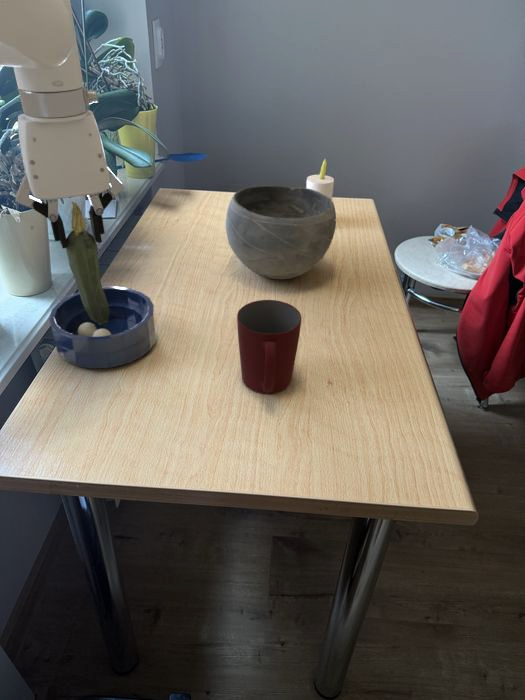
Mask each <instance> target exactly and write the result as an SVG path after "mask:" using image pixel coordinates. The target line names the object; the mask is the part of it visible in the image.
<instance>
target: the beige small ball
mask: <svg viewBox="0 0 525 700" xmlns="http://www.w3.org/2000/svg"><path fill="white" fill-rule="evenodd" d="M96 330H97V328H96V326H95V325H94V324H92V323H89V322H86V323H83V324H81V325H80V326H79V328H78V335H79V336H85V337H92V336H93V333H94V332H95V331H96Z"/></svg>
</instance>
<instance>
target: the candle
mask: <svg viewBox="0 0 525 700" xmlns="http://www.w3.org/2000/svg"><path fill="white" fill-rule="evenodd" d="M326 173H327V159H326V158H324V160H323V161H322V164H321V167H320V170H319V174H312V175H309V176H307V177H306V187H305V188H308V189H312V190H315V191H318V192H320V193H321V194H323V195H325V196H327V197H328V198H330V199H331V200H332V201H333V196H334V195H333V194H334V187H335V186H334V185H335V179H334V178H333V177H332V176H330V175H326Z"/></svg>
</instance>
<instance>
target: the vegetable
mask: <svg viewBox="0 0 525 700" xmlns="http://www.w3.org/2000/svg"><path fill="white" fill-rule="evenodd" d="M71 204H72V210H71V213H70V214H71V222H70V224H71V228H72V231H70V232H69V233H68V235H67V236H66V240H67V245H68V247H67V248H65V250H66V256H67V260H68V265H69V268H70V271H71V274H72V275H73V279H74V281H75V284H76V288H77V291H78V292H79V293H80V296H81V300H82V302H83V305H84V307H85V309H86V311H87V313H88V315H89V317H90V318H91V320H93V321H95V322H97V323H98V324H100V325H101V324H102V323H107V322H108V318H109V308H108V303H107V299H106V296H105V293H104V291H103V288H102V287H103V285H102V281H101V277H100V263H99V249H98V243H97V242H96V240H95V238H94V236H93V234H92V233H91V232H89V231H87V230H86V228H87V223H86V221H85V219H84V216H83V214H82V210H81V208H80V207H79V205H78V203H76V202H74V201H71Z"/></svg>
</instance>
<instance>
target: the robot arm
mask: <svg viewBox="0 0 525 700" xmlns="http://www.w3.org/2000/svg"><path fill="white" fill-rule="evenodd" d="M0 67H7V68H13V72H14V76H15V80H16V81H15V82H16V84H17V91H18V94H19V98H20V104H21V108H22V112H23V113H21V114H18V115H17V130H18V141H19V146H20V152H21V157H22V163H23V168H24V175H23V178H22V180H21V183H20V185H19V187H18V190H17V191H16V195H15V200H16V203H18V204H20V205H22V206H25V207H26V208H29V209H33V210H34V211H36V212H37V213H39V215H42V216H43V217H45V218H46V219H48V221H50V225H51V230H52V235H53V238H54V241H55V242H60V245H61V248H62V249H66V248H67V247H68V245H67V240H66V239H67V236H66V231H65V226H64V222H63V219H62V216H61V214H60V213H59V200H60V199H68V198H69V199H70V198H76V197H85V196H87V198H88V200H89V204H90V207H89V210H88V216H89V222H90V228H91V234H92V236H93V237H94V239H95V241H96V243H97V244H99V243H100V244H101V243H103V240H102V235H105V232H106V231H105V226H104V221H103V220H104V219H103V215H104V213H105V210H106V208H108V206H109V205H110V204H111V202H112V201H113V199H114V198H115V197H117V196H118V195H119V194H120V193H121V192H123V190H124V189H125V187H124V185H123V183H122V182H121V181H120V179H119V178H118V177H117V176H116V175H115V174H114V173H113V172H112V170H111V169H110V168H109V167H108V162H107V158H106V154H105V149H104V146H103V140H102V137H101V134H100V130H99V127H98V126H99V125H98V124H97V121H96V118H95V115H94V112H93V111H92V110H89V109H90V108H89V107H90V105H91V104H93V103H99V97H98V92H97V90H91V89H87V88H86V87H85V86H84V85H85V83H84V78H83V72H82V66H81V59H80V53H79V47H78V40H77V34H76V28H75V21H74V15H73V8H72V2H71V0H0ZM31 194H32V195H31Z"/></svg>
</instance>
